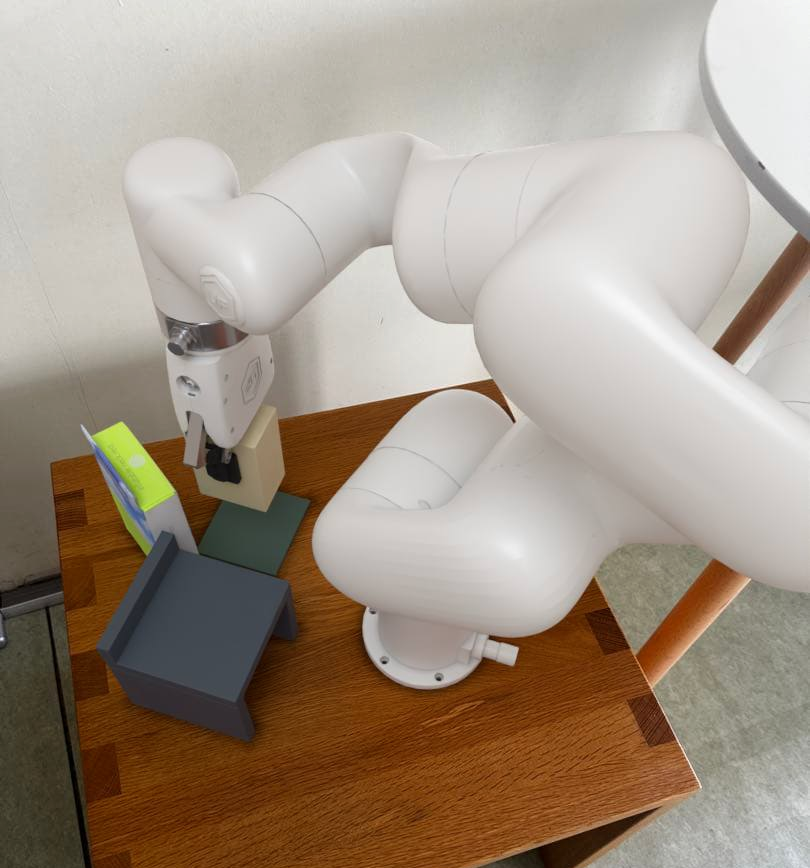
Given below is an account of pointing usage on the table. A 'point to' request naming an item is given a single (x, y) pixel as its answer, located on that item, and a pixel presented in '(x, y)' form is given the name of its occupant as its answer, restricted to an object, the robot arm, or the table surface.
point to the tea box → (251, 464)
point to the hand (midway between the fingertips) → (237, 453)
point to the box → (140, 489)
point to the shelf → (195, 636)
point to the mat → (254, 533)
